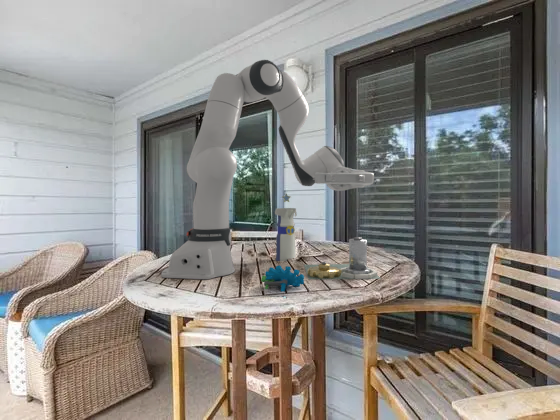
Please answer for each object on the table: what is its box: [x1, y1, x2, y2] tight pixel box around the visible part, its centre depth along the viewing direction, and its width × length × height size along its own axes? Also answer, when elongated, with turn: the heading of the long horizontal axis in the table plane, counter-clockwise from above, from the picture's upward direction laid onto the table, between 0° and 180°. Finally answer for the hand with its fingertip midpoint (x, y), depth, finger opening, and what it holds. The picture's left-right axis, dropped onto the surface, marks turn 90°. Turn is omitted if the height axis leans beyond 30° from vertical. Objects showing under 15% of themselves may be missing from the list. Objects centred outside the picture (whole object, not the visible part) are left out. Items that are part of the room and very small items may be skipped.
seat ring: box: [341, 267, 378, 280], centre depth 96 cm, size 10×10×1 cm
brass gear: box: [306, 261, 341, 280], centre depth 96 cm, size 10×10×4 cm
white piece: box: [274, 193, 298, 262], centre depth 124 cm, size 8×9×25 cm
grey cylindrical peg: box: [345, 236, 372, 274], centre depth 96 cm, size 7×7×11 cm
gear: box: [260, 265, 305, 297], centre depth 82 cm, size 11×6×10 cm
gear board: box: [303, 263, 382, 280], centre depth 100 cm, size 20×19×1 cm
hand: (347, 177), depth 108 cm, fingers open, 8 cm apart
